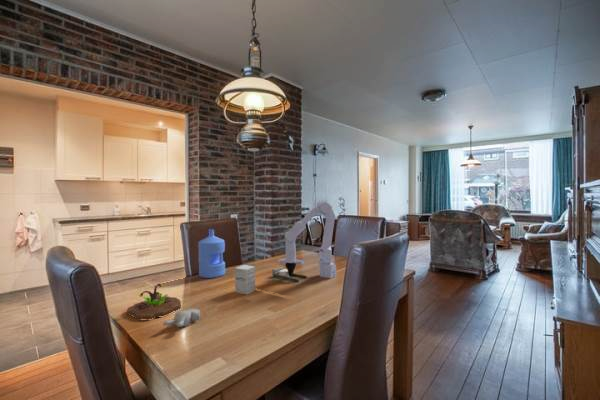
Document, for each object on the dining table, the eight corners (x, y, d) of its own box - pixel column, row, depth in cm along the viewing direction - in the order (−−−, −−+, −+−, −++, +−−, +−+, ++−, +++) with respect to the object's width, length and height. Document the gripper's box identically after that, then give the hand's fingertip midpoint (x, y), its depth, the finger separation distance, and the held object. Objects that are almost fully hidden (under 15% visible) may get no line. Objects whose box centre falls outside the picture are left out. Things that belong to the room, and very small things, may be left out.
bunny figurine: (206, 306, 116) (183, 318, 101) (205, 319, 115) (182, 333, 101) (185, 305, 118) (160, 316, 103) (185, 318, 117) (159, 331, 103)
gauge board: (310, 280, 160) (310, 271, 160) (296, 287, 150) (296, 277, 149) (280, 274, 173) (280, 266, 173) (266, 280, 162) (265, 271, 162)
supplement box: (235, 292, 143) (234, 267, 142) (244, 288, 149) (243, 264, 149) (246, 295, 139) (246, 269, 139) (255, 290, 146) (255, 265, 146)
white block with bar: (291, 275, 165) (291, 269, 165) (280, 280, 157) (280, 274, 157) (285, 274, 168) (285, 268, 168) (273, 279, 160) (273, 272, 160)
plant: (189, 307, 126) (189, 282, 125) (143, 324, 110) (142, 296, 110) (166, 298, 138) (165, 275, 137) (121, 312, 122) (120, 286, 122)
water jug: (193, 277, 170) (192, 230, 169) (209, 270, 185) (208, 227, 184) (216, 279, 166) (215, 231, 165) (230, 272, 181) (229, 228, 180)
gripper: (305, 251, 163) (305, 275, 163) (281, 250, 168) (282, 273, 168) (300, 254, 156) (301, 278, 156) (276, 252, 161) (277, 276, 161)
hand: (291, 276), depth 162 cm, fingers closed
